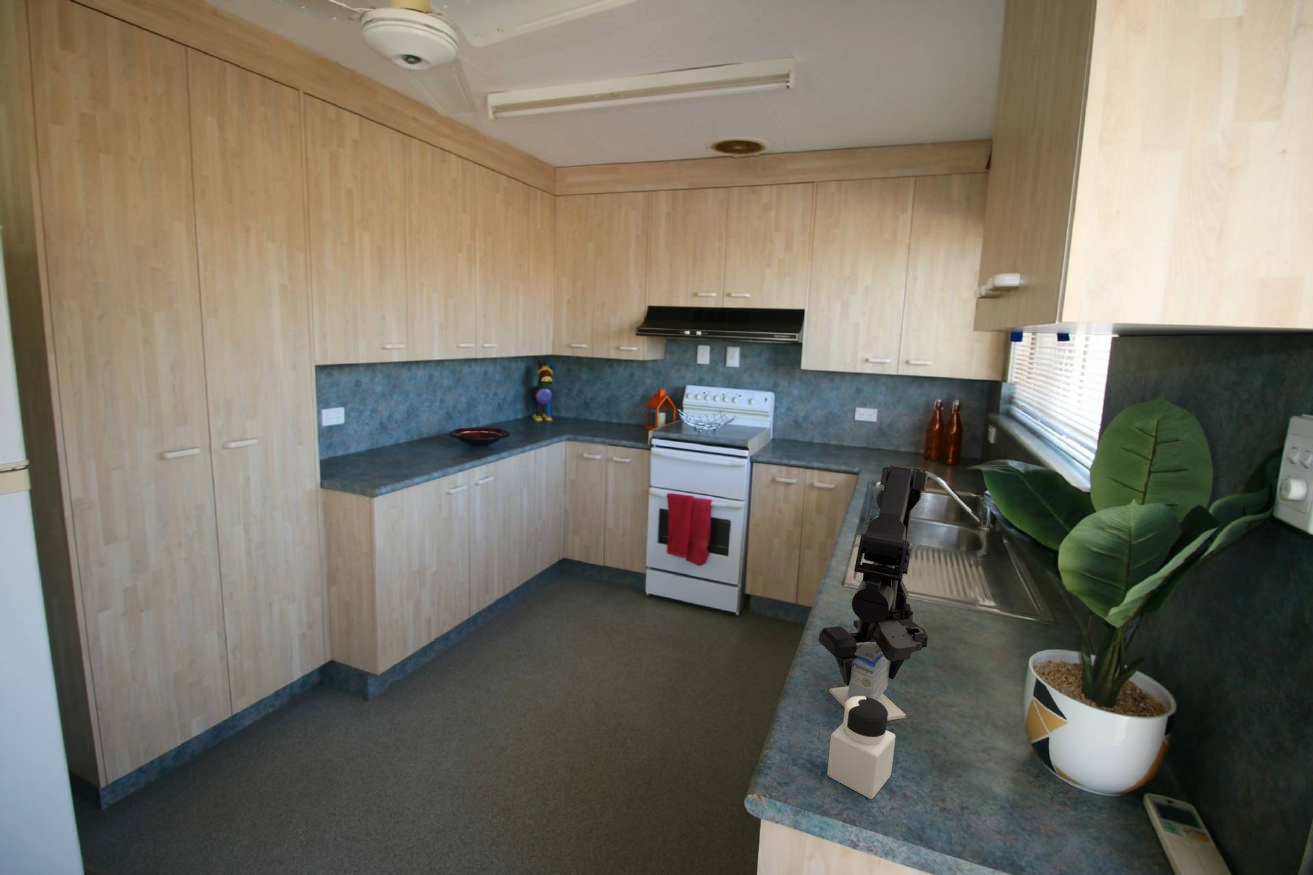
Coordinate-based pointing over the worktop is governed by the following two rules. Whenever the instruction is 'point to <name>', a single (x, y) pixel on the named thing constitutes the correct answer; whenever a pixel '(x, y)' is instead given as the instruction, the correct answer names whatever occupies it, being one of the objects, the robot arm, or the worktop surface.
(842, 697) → the mat
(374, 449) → the worktop surface
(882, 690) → the medicine box
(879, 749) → the medicine bottle
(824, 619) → the worktop surface
